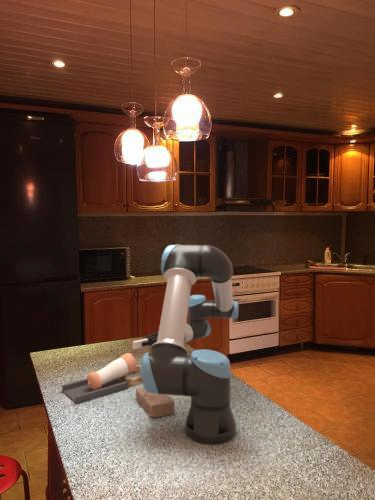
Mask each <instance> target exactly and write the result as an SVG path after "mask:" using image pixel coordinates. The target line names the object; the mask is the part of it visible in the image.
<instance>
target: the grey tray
mask: <svg viewBox="0 0 375 500" xmlns="http://www.w3.org/2000/svg"><path fill="white" fill-rule="evenodd" d="M128 388H129V387H128V382H122V383H121V382H119V381H118V380H116V379H114V380H112V381H110V382H108V383H106V384H104V385H102V387H101V388H100V389H98V390H93V389H92V388H91V387H90V386H89V385H88V379H87V378H83V379H80V380H77V381H73V382H69V383H65V384H62V385H61V389H62V390H61V392H62V393H63V394H65V395H66V396H67V397H68V398H69V399H70V400H71V401H73V402H74V403H75V404H76V405H78V404H79V405H80V404H82V403H85V402H90V401H92V400H96V399H98V398H99V399H100V398H103V397H105V396H108V395H111V394H115V393H118V392H121V391H124V390H128Z"/></svg>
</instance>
